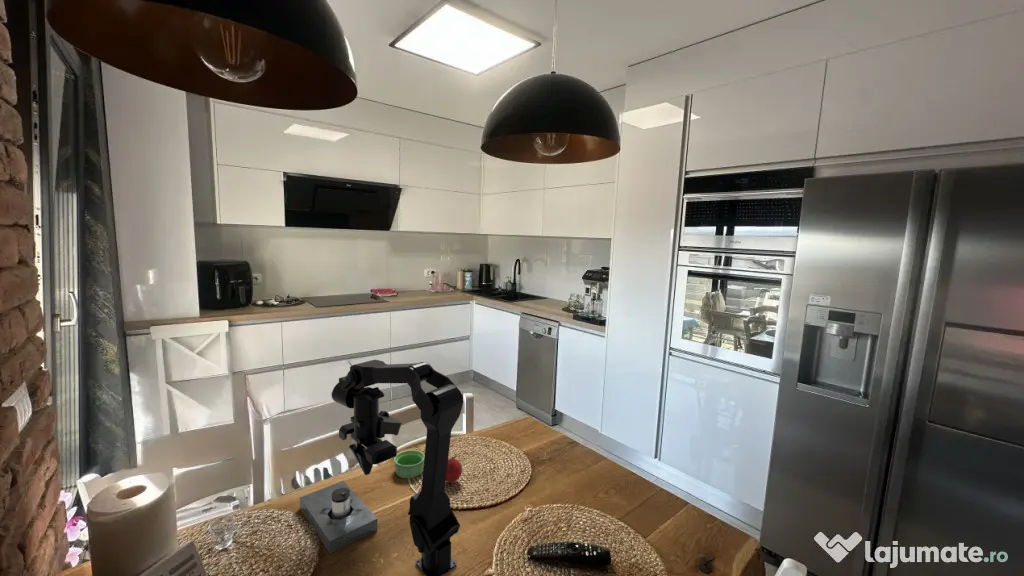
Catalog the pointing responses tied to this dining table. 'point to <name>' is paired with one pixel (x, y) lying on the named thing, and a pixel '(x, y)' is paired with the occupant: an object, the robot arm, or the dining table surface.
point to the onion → (453, 470)
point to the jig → (337, 531)
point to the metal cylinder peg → (340, 503)
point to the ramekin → (409, 463)
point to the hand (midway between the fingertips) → (367, 473)
